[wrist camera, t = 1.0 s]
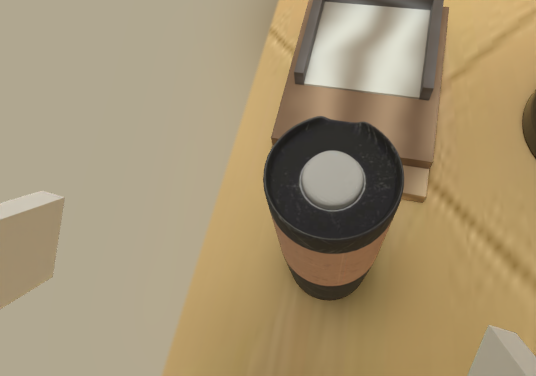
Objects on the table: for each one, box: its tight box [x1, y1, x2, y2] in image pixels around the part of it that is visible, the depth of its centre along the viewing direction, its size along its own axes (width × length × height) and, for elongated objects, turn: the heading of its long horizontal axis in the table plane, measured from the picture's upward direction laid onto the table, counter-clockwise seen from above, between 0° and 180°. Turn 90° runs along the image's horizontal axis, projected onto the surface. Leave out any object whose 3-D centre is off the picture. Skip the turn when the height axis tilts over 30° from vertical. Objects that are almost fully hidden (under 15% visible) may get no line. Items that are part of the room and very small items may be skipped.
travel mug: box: [263, 116, 404, 300], centre depth 31 cm, size 8×8×20 cm
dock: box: [271, 0, 449, 202], centre depth 45 cm, size 16×23×5 cm
